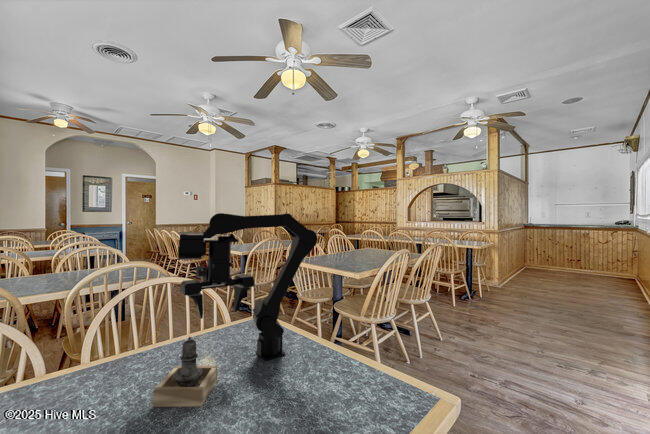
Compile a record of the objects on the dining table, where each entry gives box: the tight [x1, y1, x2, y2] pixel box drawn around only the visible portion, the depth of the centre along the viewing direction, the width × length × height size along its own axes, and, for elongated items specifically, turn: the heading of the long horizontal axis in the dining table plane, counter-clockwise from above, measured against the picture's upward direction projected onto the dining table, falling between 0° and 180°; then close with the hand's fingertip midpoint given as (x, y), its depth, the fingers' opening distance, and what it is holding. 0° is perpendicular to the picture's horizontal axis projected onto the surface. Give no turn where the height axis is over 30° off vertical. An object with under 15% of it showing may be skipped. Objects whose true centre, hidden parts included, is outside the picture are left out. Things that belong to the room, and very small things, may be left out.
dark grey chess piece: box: [174, 335, 203, 387], centre depth 66 cm, size 6×6×12 cm
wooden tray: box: [152, 365, 218, 408], centre depth 66 cm, size 10×10×4 cm
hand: (218, 315), depth 80 cm, fingers open, 9 cm apart
